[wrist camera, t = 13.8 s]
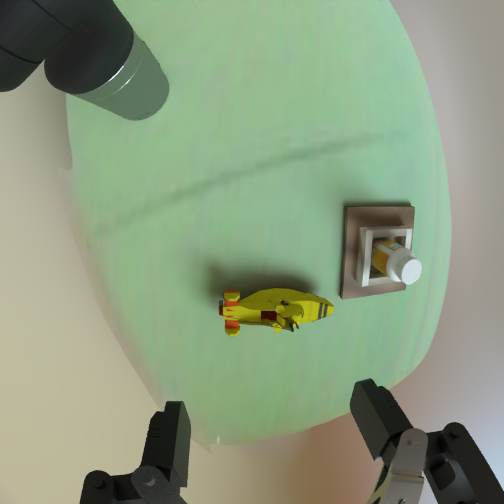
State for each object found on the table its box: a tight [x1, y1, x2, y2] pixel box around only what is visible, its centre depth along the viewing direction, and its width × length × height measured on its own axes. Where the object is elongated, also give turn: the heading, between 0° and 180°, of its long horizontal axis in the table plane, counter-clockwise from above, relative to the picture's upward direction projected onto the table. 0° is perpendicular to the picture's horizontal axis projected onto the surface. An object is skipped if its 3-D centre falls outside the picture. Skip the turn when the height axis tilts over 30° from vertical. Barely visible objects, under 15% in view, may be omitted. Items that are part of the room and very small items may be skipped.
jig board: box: [340, 206, 415, 300], centre depth 43 cm, size 16×14×4 cm
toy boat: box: [219, 288, 334, 336], centre depth 40 cm, size 6×18×10 cm, turn 89°
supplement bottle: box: [371, 238, 422, 284], centre depth 39 cm, size 5×5×10 cm
